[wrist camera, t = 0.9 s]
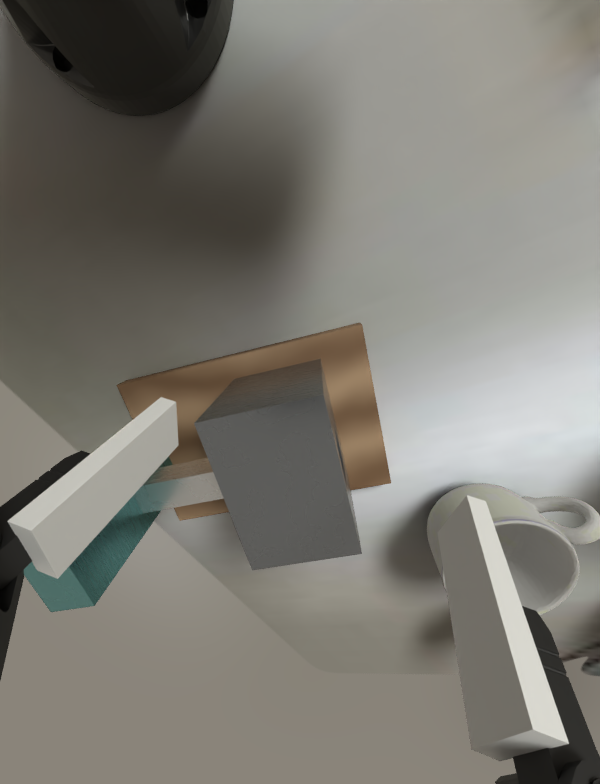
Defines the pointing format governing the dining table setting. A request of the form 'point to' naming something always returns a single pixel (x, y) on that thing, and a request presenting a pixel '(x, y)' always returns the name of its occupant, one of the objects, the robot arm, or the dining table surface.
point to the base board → (211, 377)
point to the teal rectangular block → (124, 534)
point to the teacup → (526, 540)
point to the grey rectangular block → (281, 466)
